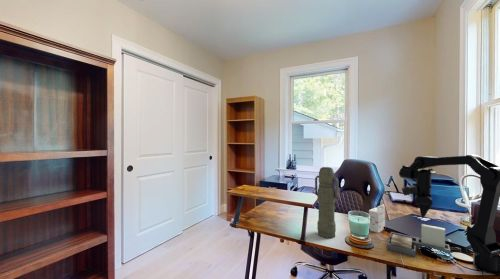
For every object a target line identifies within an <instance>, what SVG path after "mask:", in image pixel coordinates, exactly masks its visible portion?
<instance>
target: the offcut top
mask: <svg viewBox="0 0 500 279" xmlns="http://www.w3.org/2000/svg"><path fill="white" fill-rule="evenodd" d="M392 241H393V242H397V243H401V244H406V245H410V246H412V238H408V237H404V236H399V235H395V234H393V236H392Z"/></svg>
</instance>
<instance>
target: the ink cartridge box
mask: <svg viewBox="0 0 500 279" xmlns="http://www.w3.org/2000/svg"><path fill="white" fill-rule="evenodd" d="M369 215H370V218H371V219H370V230H369V231H371V232H375V233H381V232H382V231H385V229H384V227H385V228H386V206H385V204H384V203H383V204H380V205H378V206H377V207H373V208H371V209H369V210H368V216H369Z"/></svg>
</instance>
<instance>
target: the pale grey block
mask: <svg viewBox="0 0 500 279" xmlns="http://www.w3.org/2000/svg"><path fill="white" fill-rule="evenodd" d="M420 232H421V243H424V244H429V245H433V246H437V247H442V248H445V244H446V228H444V227H441V226H434V225H428V224H424V223H421V231H420Z"/></svg>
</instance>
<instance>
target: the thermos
mask: <svg viewBox="0 0 500 279" xmlns="http://www.w3.org/2000/svg"><path fill="white" fill-rule="evenodd" d="M339 182H340V181H339V178H337V177H335V172H334V169H333V168H332V167H328V166H322V167H320V168H319V171H318V175H315V178H314V194H315V195H316V196H317V203H318V220H317V222H316V225H317V229H316V230H317V235H318V236H319V237H320V238H324V239H334V238H335V237H336V230H337V229H336V221H335V209H336V208H335V203H336V199H337V198H339ZM318 183H319V184H318Z"/></svg>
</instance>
